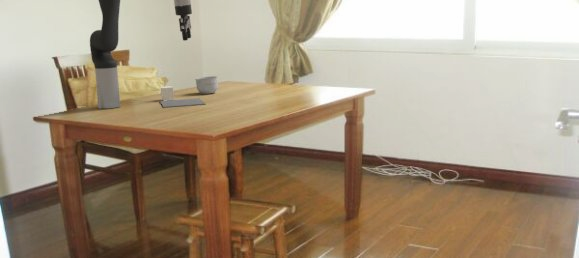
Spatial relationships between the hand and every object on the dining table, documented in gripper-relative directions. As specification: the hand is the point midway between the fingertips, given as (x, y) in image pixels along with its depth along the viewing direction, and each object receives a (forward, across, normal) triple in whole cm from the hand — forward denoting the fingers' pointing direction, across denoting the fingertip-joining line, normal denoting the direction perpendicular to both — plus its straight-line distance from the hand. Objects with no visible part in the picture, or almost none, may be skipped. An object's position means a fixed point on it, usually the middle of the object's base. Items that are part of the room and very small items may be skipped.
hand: (187, 39), depth 284 cm
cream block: (+26, +13, -10) cm, 31 cm away
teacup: (+28, -8, +6) cm, 30 cm away
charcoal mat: (+25, +24, -1) cm, 35 cm away
